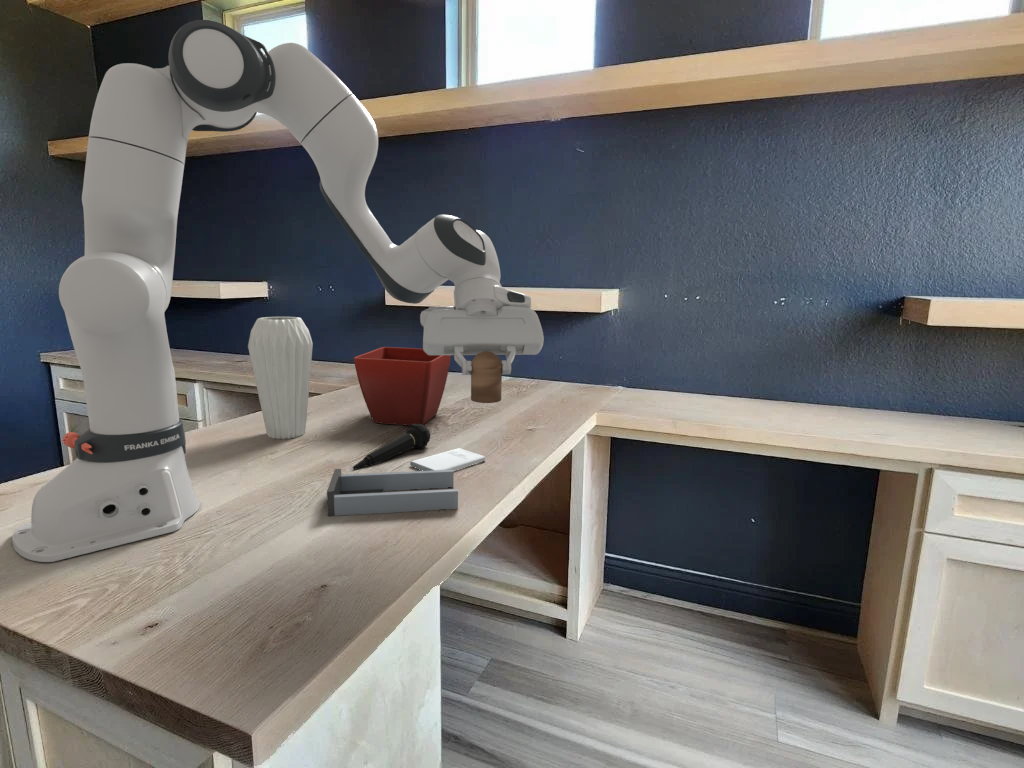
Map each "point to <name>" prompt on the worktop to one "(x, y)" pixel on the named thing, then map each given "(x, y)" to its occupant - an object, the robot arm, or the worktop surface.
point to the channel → (368, 497)
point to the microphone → (398, 445)
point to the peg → (486, 378)
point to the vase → (282, 373)
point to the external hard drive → (448, 460)
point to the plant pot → (402, 384)
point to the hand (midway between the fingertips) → (487, 372)
